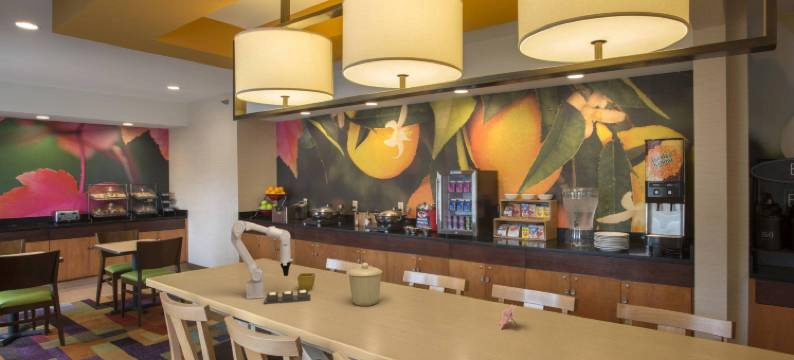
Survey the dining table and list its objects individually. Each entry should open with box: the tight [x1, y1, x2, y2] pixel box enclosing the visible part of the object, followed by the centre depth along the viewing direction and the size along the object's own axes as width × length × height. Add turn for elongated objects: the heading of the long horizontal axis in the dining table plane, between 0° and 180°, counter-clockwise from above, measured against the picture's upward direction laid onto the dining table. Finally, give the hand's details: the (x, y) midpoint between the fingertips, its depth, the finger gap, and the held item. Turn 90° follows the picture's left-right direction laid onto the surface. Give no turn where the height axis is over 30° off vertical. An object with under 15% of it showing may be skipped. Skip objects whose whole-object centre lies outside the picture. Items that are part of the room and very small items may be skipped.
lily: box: [498, 303, 519, 330], centre depth 195 cm, size 12×12×10 cm
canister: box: [347, 262, 383, 307], centre depth 236 cm, size 18×18×21 cm
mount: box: [263, 290, 312, 305], centre depth 246 cm, size 24×10×4 cm, turn 101°
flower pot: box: [296, 272, 316, 292], centre depth 268 cm, size 9×9×9 cm
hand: (286, 275), depth 259 cm, fingers closed
